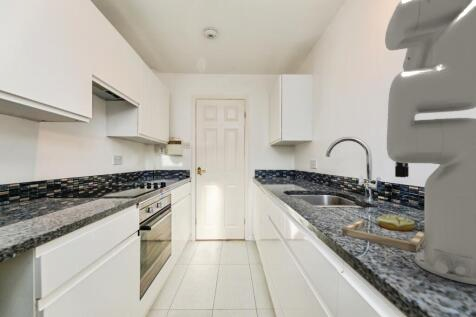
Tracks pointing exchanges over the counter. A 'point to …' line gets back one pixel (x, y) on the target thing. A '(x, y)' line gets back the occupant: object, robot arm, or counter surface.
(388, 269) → the counter surface
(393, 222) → the yellow-green flat piece
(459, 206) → the robot arm
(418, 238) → the wooden bay
